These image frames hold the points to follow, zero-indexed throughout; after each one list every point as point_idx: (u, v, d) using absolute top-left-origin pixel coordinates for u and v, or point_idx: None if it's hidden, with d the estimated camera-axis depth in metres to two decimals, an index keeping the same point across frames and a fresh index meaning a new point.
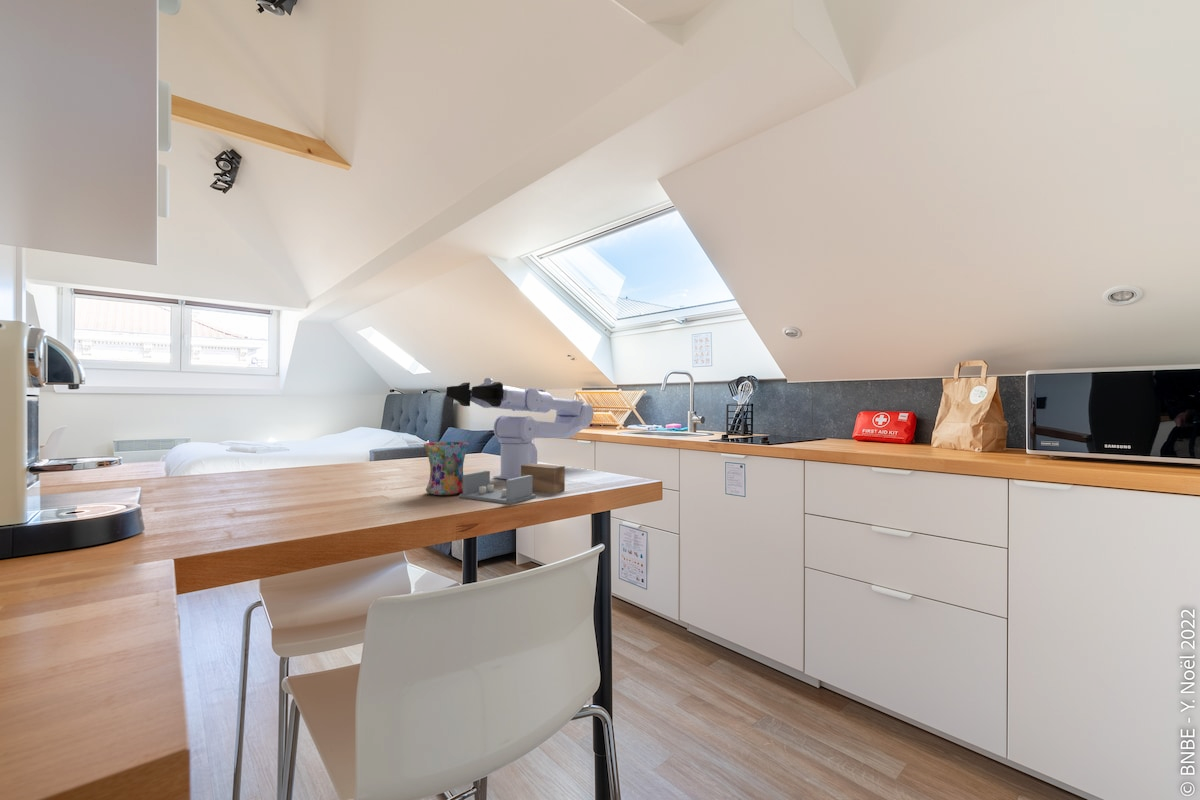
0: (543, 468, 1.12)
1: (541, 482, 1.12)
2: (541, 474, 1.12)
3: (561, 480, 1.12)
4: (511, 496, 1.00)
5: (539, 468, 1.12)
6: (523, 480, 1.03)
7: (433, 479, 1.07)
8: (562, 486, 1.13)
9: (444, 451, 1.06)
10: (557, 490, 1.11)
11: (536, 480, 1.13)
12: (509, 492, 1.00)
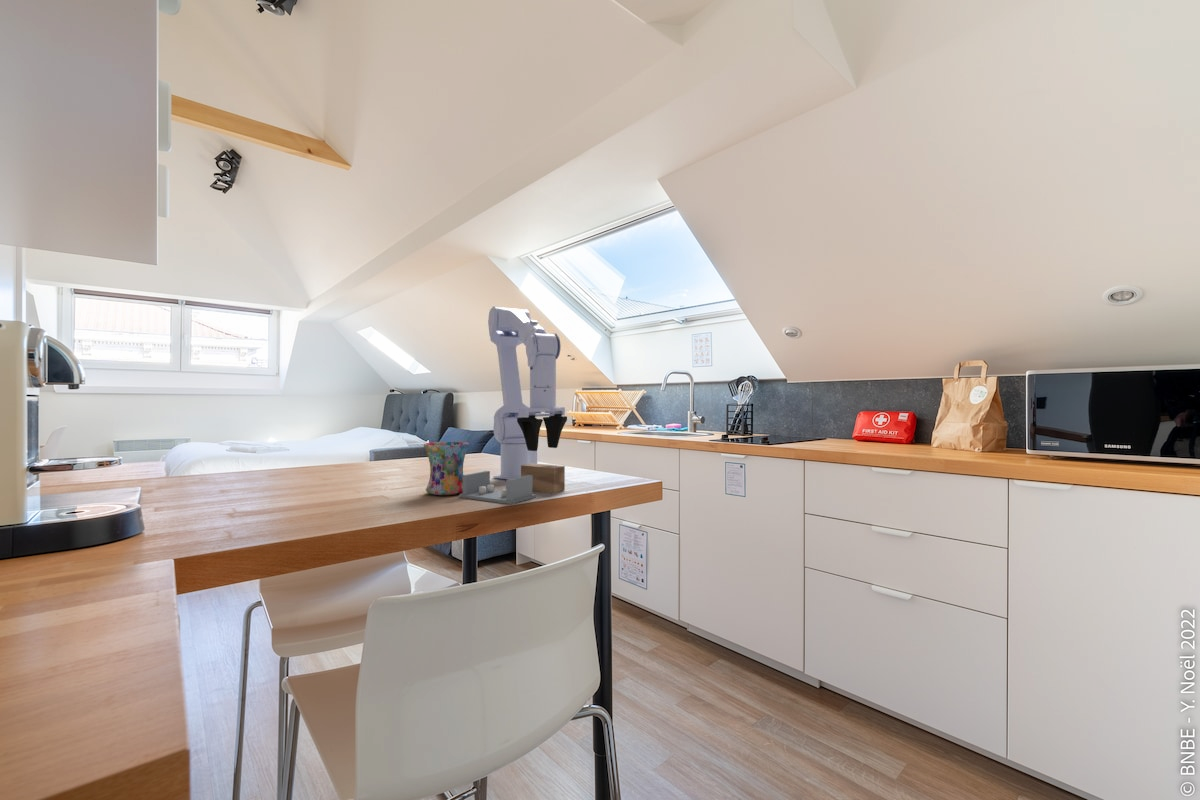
0: (543, 468, 1.12)
1: (541, 482, 1.12)
2: (541, 474, 1.12)
3: (561, 480, 1.12)
4: (511, 496, 1.00)
5: (539, 468, 1.12)
6: (523, 480, 1.03)
7: (433, 479, 1.07)
8: (562, 486, 1.13)
9: (444, 451, 1.06)
10: (557, 490, 1.11)
11: (536, 480, 1.13)
12: (509, 492, 1.00)
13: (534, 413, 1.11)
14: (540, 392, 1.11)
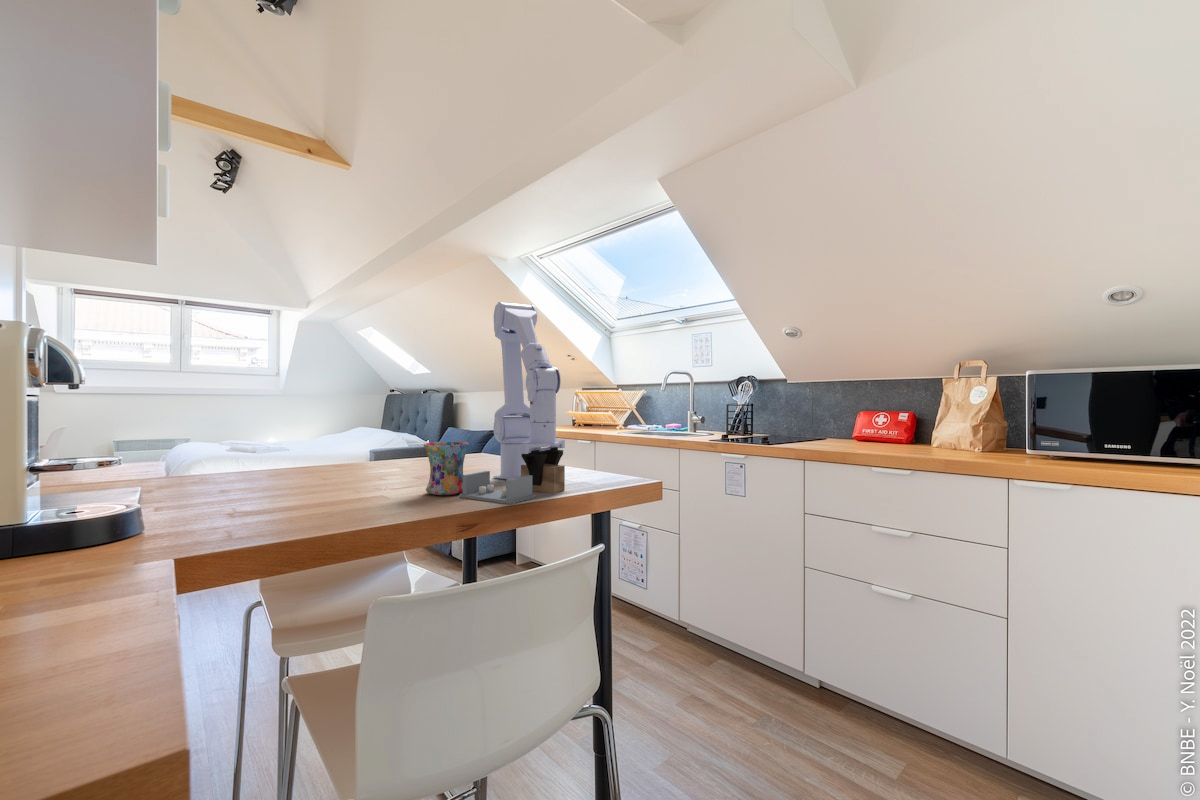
0: (543, 467, 1.12)
1: None
2: None
3: (561, 479, 1.12)
4: (511, 496, 1.00)
5: None
6: (523, 480, 1.03)
7: (433, 479, 1.07)
8: (562, 485, 1.13)
9: (444, 451, 1.06)
10: (557, 489, 1.11)
11: None
12: (509, 492, 1.00)
13: (534, 448, 1.11)
14: (540, 427, 1.11)
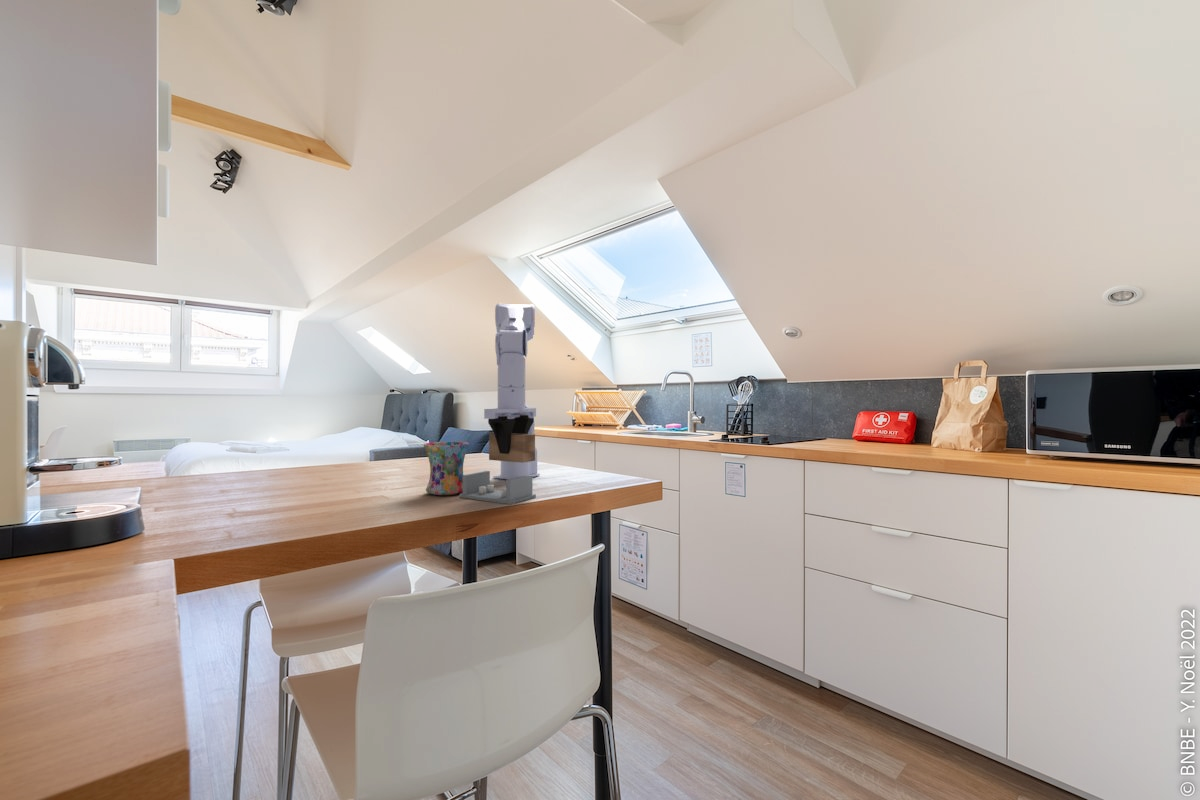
0: (512, 436, 1.05)
1: (510, 451, 1.06)
2: None
3: (531, 448, 1.06)
4: (511, 496, 1.00)
5: None
6: (523, 480, 1.03)
7: (433, 479, 1.07)
8: (532, 455, 1.07)
9: (444, 451, 1.06)
10: (526, 459, 1.05)
11: None
12: (509, 492, 1.00)
13: (501, 414, 1.05)
14: (508, 392, 1.05)
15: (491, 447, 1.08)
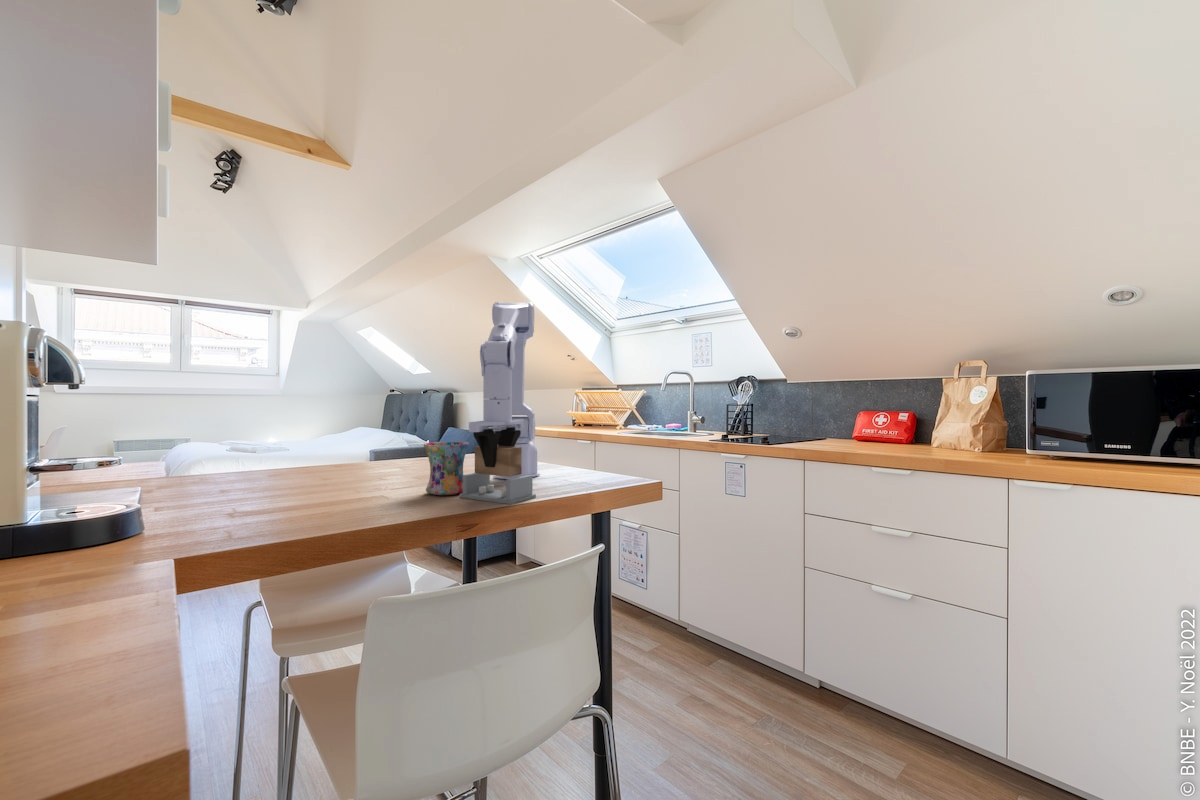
0: (497, 449, 1.03)
1: (495, 464, 1.03)
2: None
3: (517, 462, 1.04)
4: (511, 496, 1.00)
5: None
6: (523, 480, 1.03)
7: (433, 479, 1.07)
8: (518, 469, 1.04)
9: (444, 451, 1.06)
10: (512, 473, 1.03)
11: None
12: (509, 492, 1.00)
13: (487, 427, 1.02)
14: (493, 404, 1.03)
15: (477, 460, 1.06)
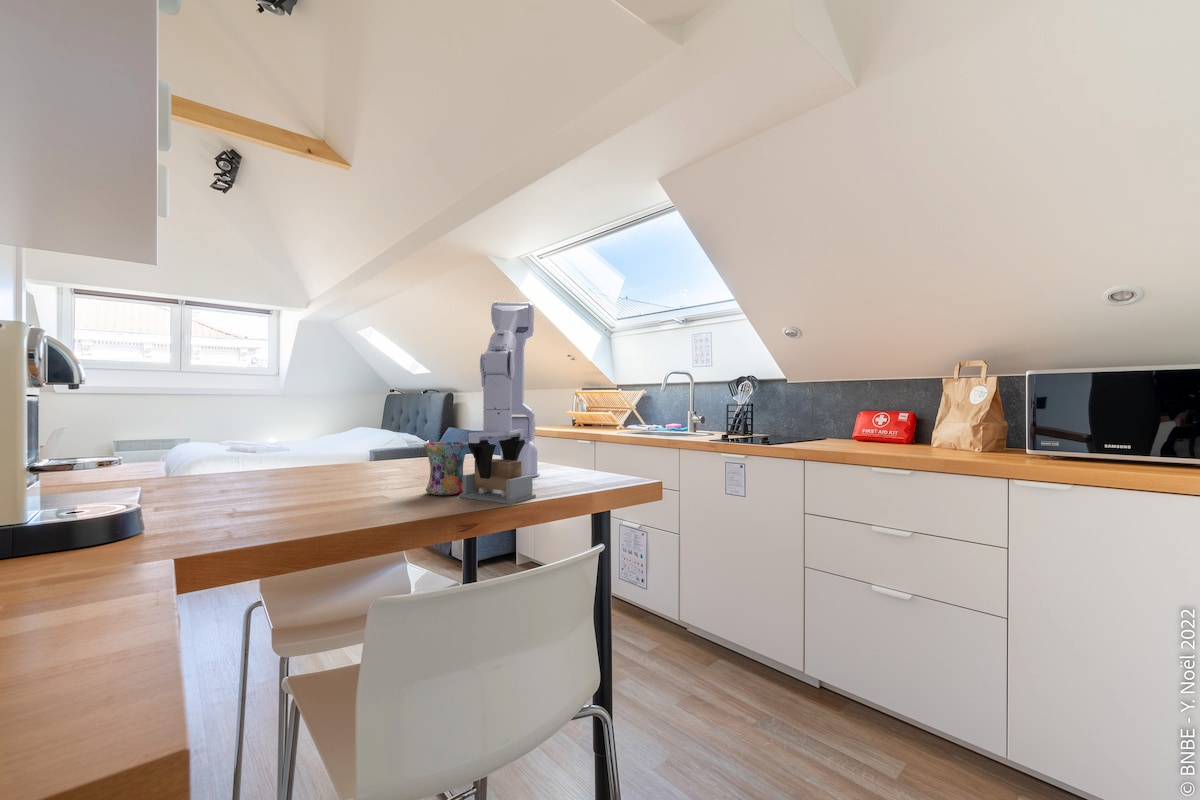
0: (497, 463, 1.03)
1: (495, 478, 1.03)
2: (495, 470, 1.03)
3: (517, 476, 1.04)
4: (511, 496, 1.00)
5: (493, 463, 1.04)
6: (523, 480, 1.03)
7: (433, 479, 1.07)
8: None
9: (444, 451, 1.06)
10: None
11: (490, 476, 1.04)
12: (509, 492, 1.00)
13: (487, 438, 1.02)
14: (493, 415, 1.03)
15: (476, 474, 1.06)
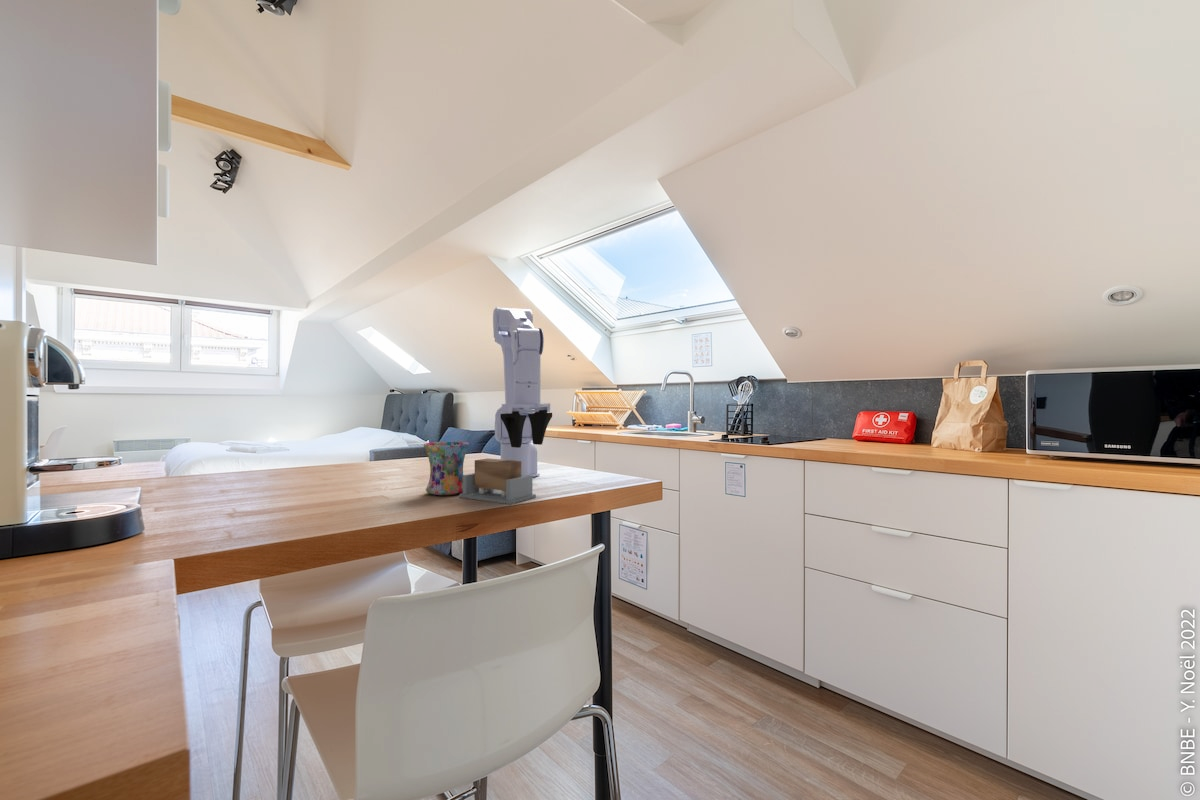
0: (497, 463, 1.03)
1: (495, 478, 1.03)
2: (495, 470, 1.03)
3: (517, 476, 1.04)
4: (511, 496, 1.00)
5: (493, 463, 1.04)
6: (523, 480, 1.03)
7: (433, 479, 1.07)
8: None
9: (444, 451, 1.06)
10: None
11: (490, 476, 1.04)
12: (509, 492, 1.00)
13: (518, 409, 1.09)
14: (524, 388, 1.10)
15: (476, 474, 1.06)
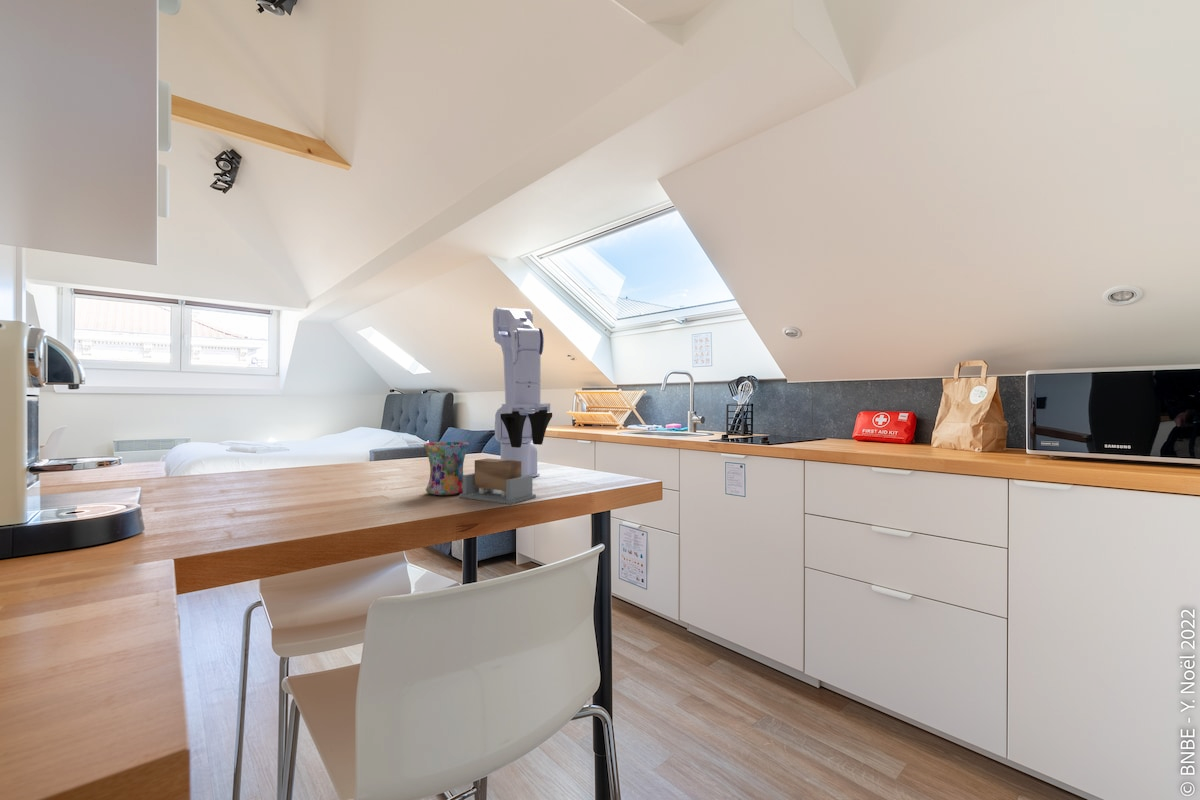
0: (497, 463, 1.03)
1: (495, 478, 1.03)
2: (495, 470, 1.03)
3: (517, 476, 1.04)
4: (511, 496, 1.00)
5: (493, 463, 1.04)
6: (523, 480, 1.03)
7: (433, 479, 1.07)
8: None
9: (444, 451, 1.06)
10: None
11: (490, 476, 1.04)
12: (509, 492, 1.00)
13: (518, 409, 1.09)
14: (524, 388, 1.10)
15: (476, 474, 1.06)
